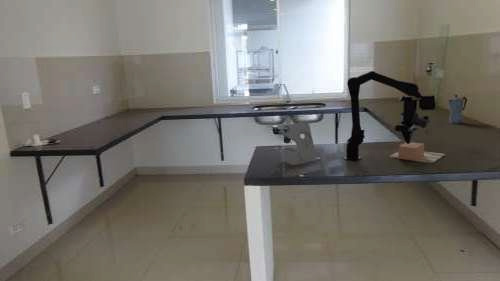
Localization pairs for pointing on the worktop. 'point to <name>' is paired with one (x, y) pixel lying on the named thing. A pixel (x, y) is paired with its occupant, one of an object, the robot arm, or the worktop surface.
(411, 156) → the terracotta block
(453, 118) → the moka pot
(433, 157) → the birch board
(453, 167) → the worktop surface
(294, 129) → the phone holder
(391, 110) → the worktop surface
